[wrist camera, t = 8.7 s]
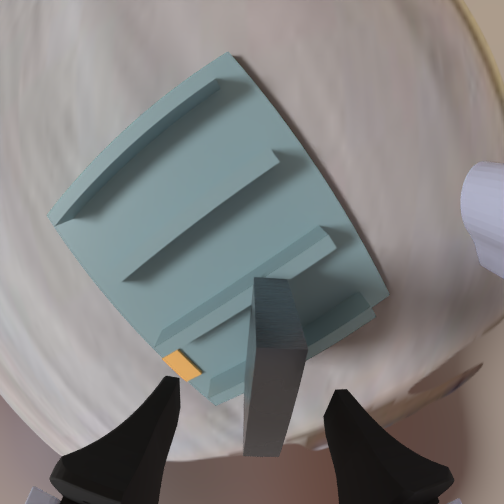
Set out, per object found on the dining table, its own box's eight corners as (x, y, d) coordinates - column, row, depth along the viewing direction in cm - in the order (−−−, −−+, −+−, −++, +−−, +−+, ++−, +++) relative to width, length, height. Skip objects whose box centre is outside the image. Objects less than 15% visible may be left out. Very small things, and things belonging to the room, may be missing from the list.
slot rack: (385, 290, 21) (403, 309, 18) (209, 393, 24) (205, 419, 21) (228, 55, 16) (224, 36, 13) (52, 213, 19) (27, 222, 16)
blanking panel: (287, 279, 17) (308, 349, 10) (271, 378, 20) (279, 456, 13) (253, 276, 17) (256, 347, 10) (244, 377, 19) (243, 456, 13)
